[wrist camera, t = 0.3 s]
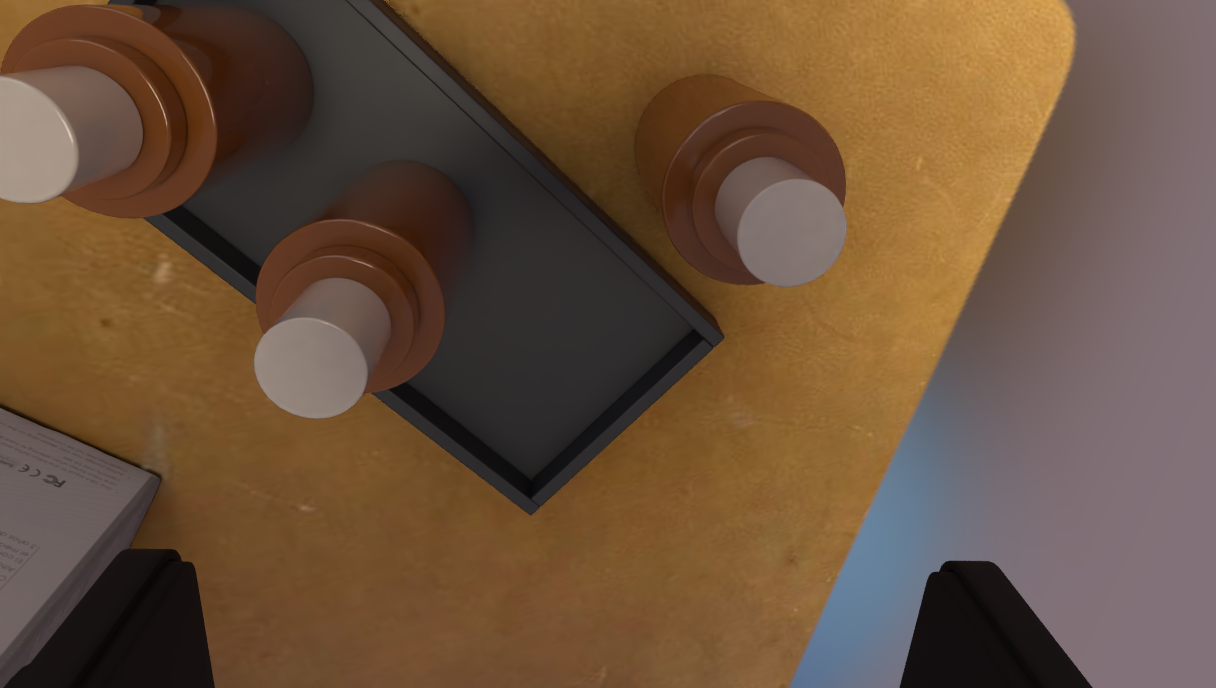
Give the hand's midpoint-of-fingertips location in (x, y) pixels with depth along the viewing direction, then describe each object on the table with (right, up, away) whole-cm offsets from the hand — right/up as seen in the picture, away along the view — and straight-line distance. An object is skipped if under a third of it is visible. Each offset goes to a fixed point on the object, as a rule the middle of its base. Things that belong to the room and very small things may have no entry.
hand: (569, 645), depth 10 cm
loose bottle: (+4, +11, +21) cm, 24 cm away
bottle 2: (-7, +8, +21) cm, 23 cm away
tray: (-7, +8, +21) cm, 24 cm away
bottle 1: (-13, +13, +18) cm, 26 cm away
